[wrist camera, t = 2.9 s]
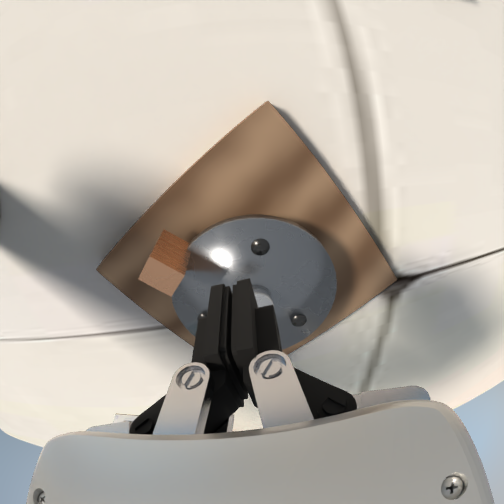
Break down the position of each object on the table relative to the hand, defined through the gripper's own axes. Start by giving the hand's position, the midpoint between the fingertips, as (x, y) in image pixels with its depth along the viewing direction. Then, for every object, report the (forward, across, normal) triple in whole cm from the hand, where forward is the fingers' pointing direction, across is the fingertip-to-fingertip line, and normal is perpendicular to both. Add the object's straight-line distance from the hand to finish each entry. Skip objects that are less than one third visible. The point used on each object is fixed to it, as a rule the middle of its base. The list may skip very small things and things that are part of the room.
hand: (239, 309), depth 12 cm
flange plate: (+13, +2, +8) cm, 16 cm away
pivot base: (+18, +1, +9) cm, 20 cm away
